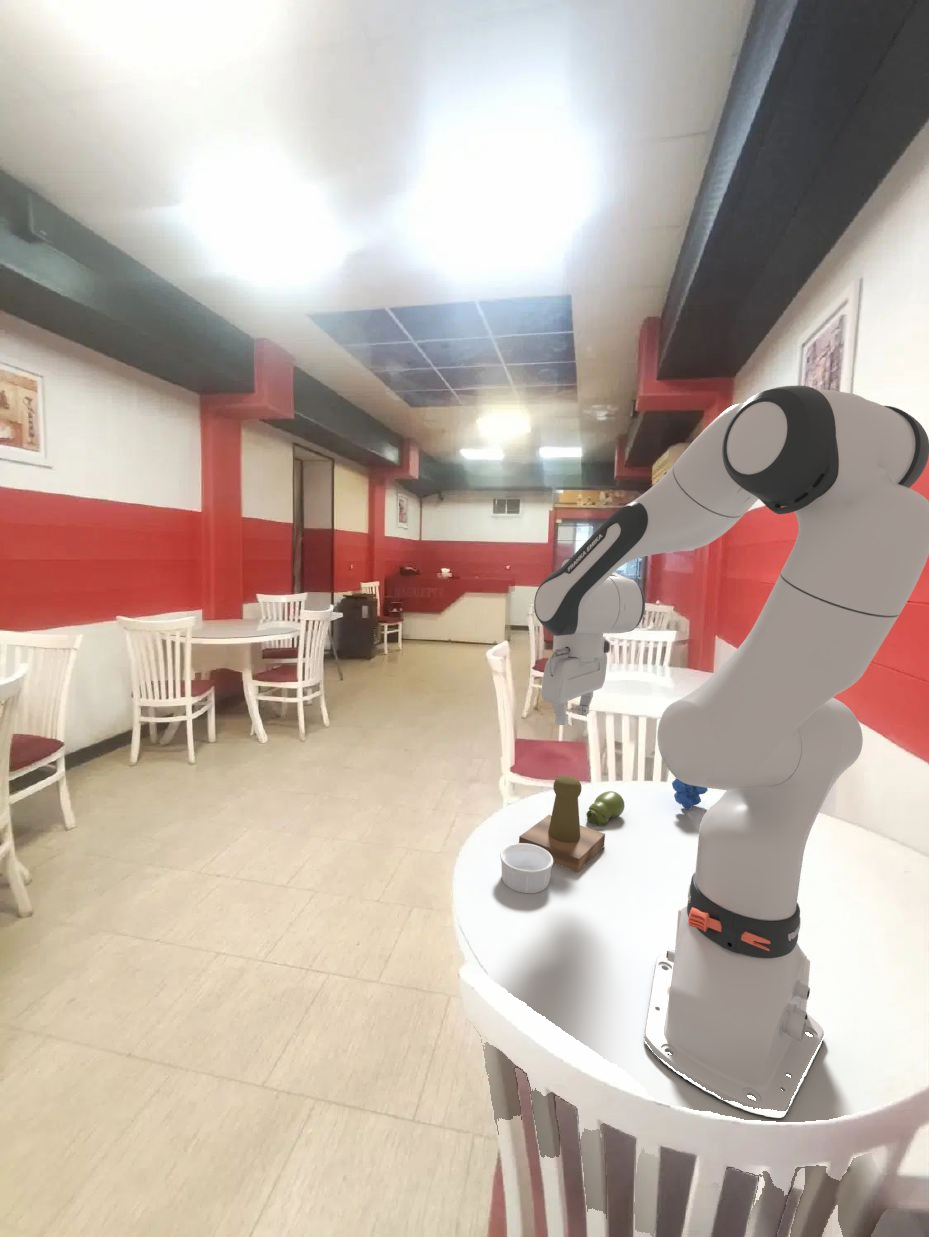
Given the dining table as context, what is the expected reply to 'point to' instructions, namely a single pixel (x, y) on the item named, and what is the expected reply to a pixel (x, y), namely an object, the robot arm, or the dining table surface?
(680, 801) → the grapes
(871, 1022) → the dining table surface
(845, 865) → the dining table surface
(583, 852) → the walnut block
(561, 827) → the pepper mill
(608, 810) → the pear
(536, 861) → the ramekin
